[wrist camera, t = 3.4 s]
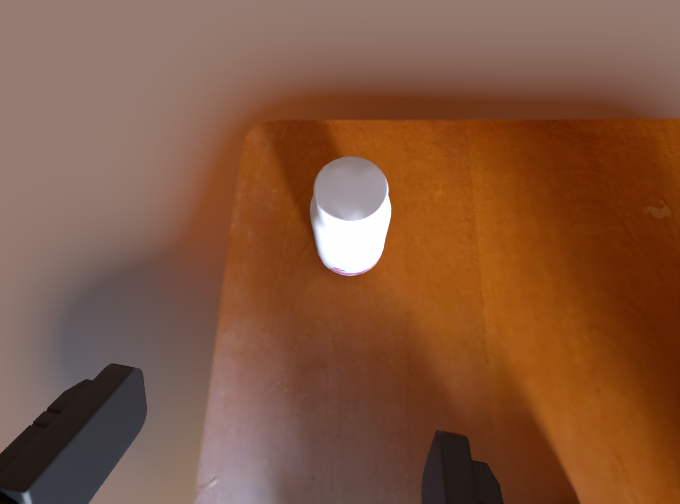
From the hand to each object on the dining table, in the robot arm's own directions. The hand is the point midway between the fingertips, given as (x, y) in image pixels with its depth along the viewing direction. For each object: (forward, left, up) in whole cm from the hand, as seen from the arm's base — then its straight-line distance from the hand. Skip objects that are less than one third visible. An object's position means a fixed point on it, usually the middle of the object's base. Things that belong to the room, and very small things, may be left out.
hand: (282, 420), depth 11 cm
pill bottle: (+5, +10, -16) cm, 19 cm away
